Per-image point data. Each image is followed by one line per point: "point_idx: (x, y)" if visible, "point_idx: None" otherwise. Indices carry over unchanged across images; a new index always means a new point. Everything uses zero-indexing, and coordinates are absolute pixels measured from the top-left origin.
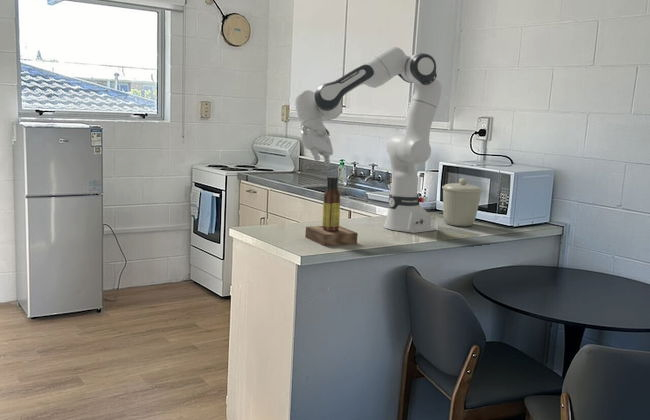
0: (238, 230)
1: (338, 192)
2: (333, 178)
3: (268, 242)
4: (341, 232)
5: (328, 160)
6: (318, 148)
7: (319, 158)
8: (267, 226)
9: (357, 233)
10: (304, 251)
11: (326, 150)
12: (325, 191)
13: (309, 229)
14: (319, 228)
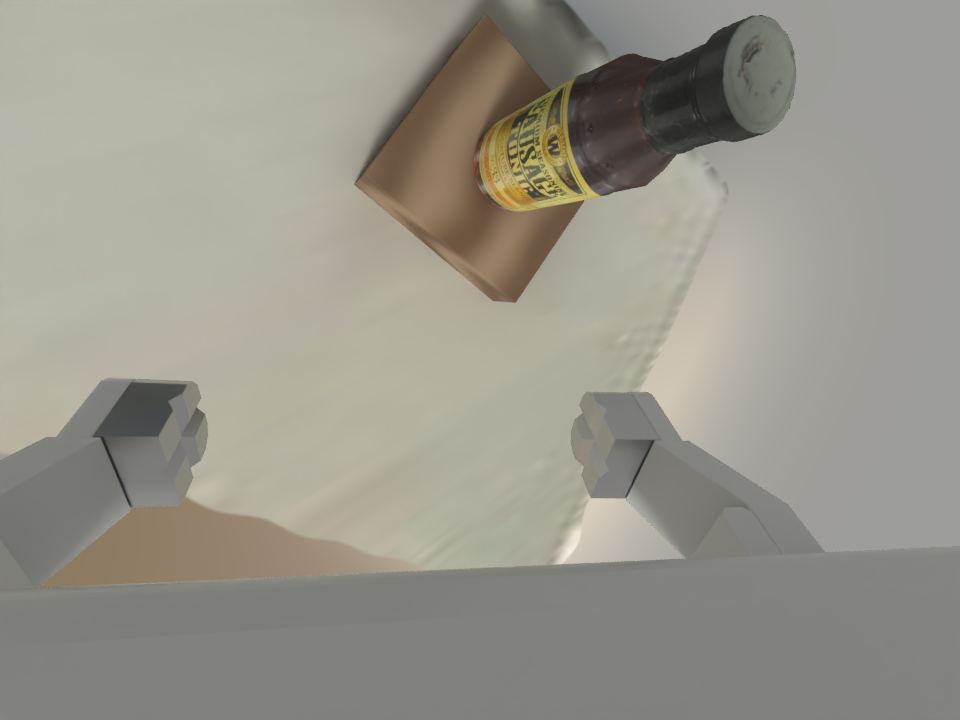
0: (550, 557)
1: (648, 59)
2: (786, 57)
3: (642, 367)
4: (525, 101)
5: (147, 416)
6: (676, 567)
7: (619, 395)
8: (408, 541)
9: (485, 15)
10: (682, 205)
11: (116, 604)
12: (663, 168)
13: (532, 273)
14: (510, 231)
